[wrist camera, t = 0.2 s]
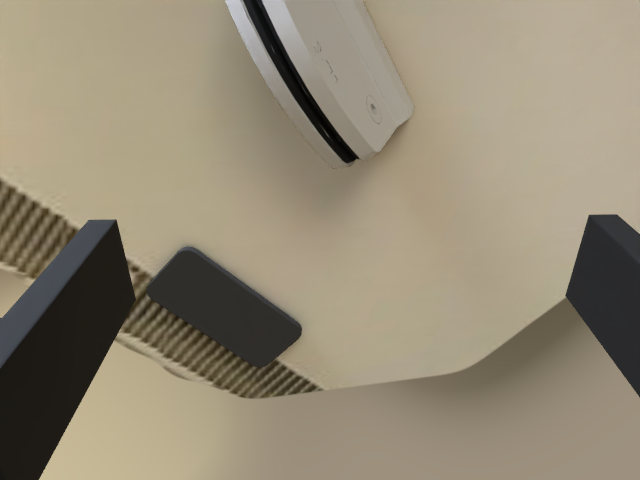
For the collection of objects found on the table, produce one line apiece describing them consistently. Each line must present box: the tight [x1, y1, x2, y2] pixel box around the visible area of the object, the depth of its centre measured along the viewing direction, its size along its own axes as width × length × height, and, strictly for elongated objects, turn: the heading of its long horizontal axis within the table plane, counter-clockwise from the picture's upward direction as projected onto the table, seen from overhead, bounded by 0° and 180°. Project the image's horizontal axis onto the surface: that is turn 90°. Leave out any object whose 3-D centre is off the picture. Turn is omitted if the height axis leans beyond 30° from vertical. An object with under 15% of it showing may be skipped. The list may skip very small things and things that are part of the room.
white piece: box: [225, 0, 414, 169], centre depth 34 cm, size 17×5×10 cm, turn 30°
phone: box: [147, 247, 302, 367], centre depth 49 cm, size 7×1×15 cm
